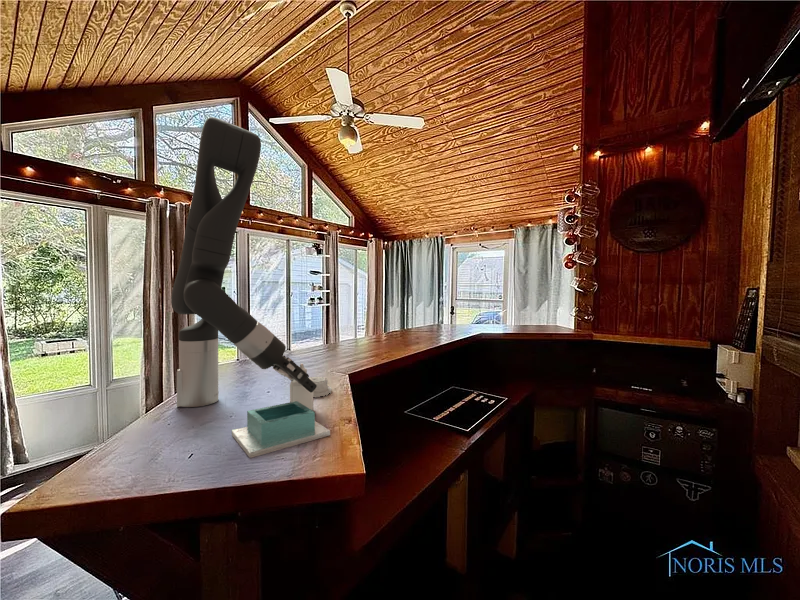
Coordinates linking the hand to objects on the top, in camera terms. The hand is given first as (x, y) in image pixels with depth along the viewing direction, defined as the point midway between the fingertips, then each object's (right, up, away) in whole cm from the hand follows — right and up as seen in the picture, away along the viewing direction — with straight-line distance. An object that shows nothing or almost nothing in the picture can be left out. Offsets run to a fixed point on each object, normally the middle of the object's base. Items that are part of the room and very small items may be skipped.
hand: (306, 385), depth 87 cm
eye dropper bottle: (-1, -6, -1) cm, 7 cm away
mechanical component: (-2, -6, +15) cm, 17 cm away
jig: (-1, -6, -15) cm, 17 cm away
